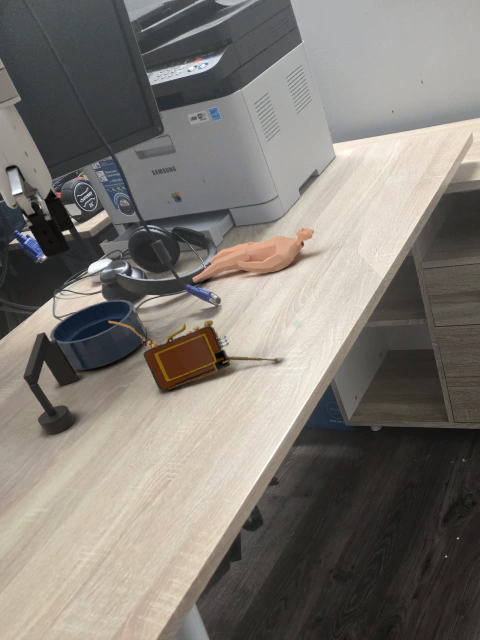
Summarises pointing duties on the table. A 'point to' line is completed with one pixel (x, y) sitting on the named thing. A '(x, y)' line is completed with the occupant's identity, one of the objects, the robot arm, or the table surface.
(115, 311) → the bowl
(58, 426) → the articulated desk lamp
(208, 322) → the brown box with rod
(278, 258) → the male figurine
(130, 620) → the table surface
